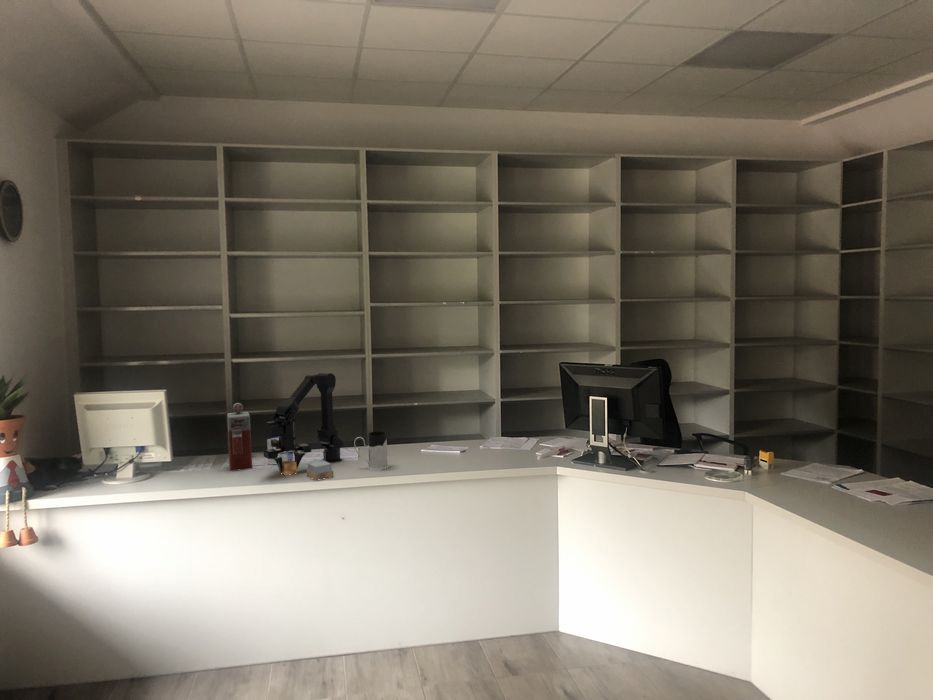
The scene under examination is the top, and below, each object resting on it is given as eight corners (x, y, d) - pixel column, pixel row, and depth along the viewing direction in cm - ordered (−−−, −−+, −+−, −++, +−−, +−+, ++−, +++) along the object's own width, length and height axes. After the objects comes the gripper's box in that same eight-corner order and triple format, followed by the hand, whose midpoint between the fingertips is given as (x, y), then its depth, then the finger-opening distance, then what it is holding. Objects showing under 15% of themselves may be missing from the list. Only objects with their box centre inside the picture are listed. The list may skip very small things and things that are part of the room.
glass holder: (389, 469, 284) (388, 435, 282) (354, 471, 281) (353, 436, 280) (387, 464, 292) (387, 430, 291) (354, 466, 290) (353, 432, 288)
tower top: (323, 467, 279) (323, 460, 278) (331, 471, 273) (331, 463, 273) (308, 470, 274) (307, 463, 274) (315, 474, 269) (315, 466, 269)
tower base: (324, 473, 280) (324, 466, 280) (333, 478, 274) (333, 470, 273) (306, 477, 275) (306, 470, 275) (315, 481, 269) (315, 474, 269)
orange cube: (291, 471, 283) (291, 460, 283) (296, 474, 279) (296, 462, 279) (280, 473, 280) (280, 462, 280) (285, 476, 276) (284, 464, 276)
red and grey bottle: (230, 471, 284) (227, 406, 281) (229, 465, 294) (226, 402, 291) (252, 469, 287) (249, 404, 284) (250, 463, 297) (247, 400, 295)
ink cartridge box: (294, 462, 298) (292, 430, 297) (288, 465, 293) (287, 433, 291) (273, 461, 300) (272, 429, 299) (267, 464, 295) (266, 432, 293)
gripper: (300, 428, 290) (301, 463, 292) (257, 434, 279) (259, 471, 280) (311, 432, 281) (312, 468, 283) (268, 439, 270) (269, 477, 271)
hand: (288, 471), depth 280 cm, fingers open, 6 cm apart
